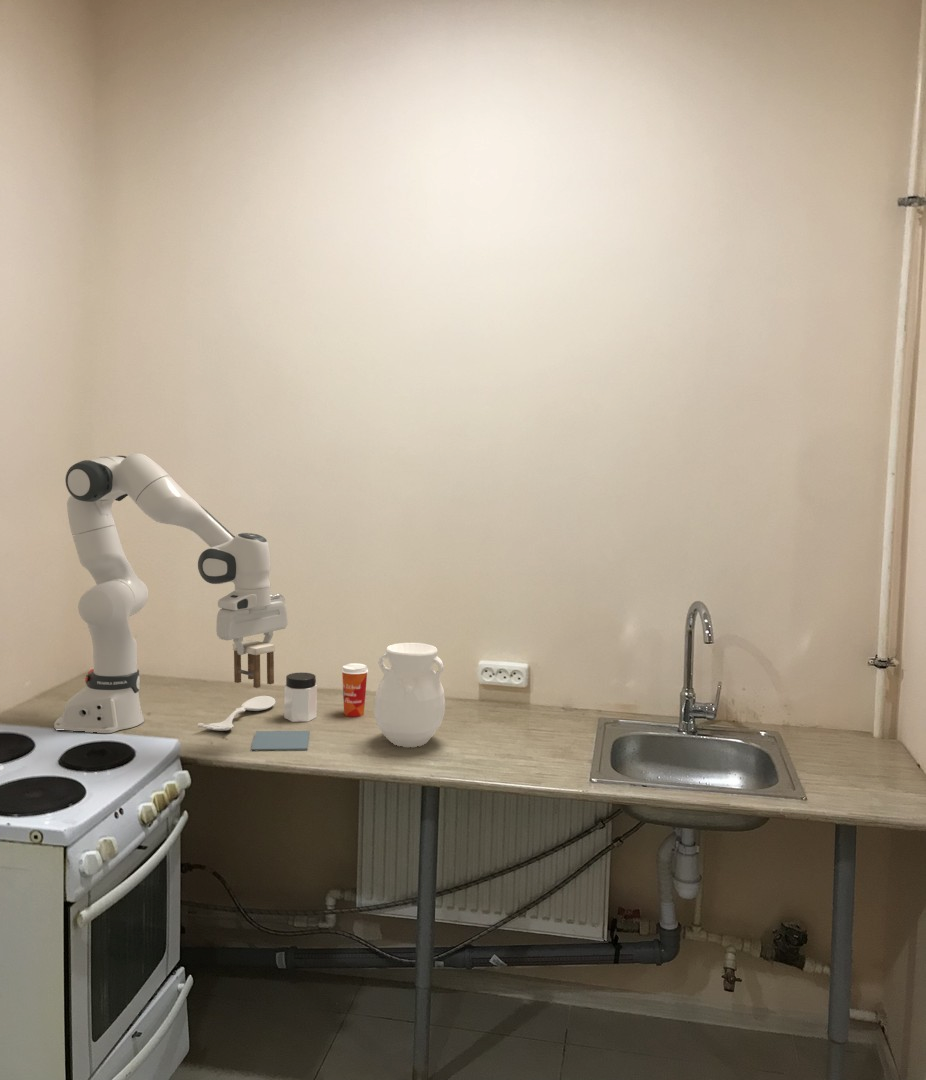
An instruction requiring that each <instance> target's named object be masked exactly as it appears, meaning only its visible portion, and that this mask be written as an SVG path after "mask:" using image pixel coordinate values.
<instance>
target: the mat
mask: <svg viewBox="0 0 926 1080" xmlns="http://www.w3.org/2000/svg"><path fill="white" fill-rule="evenodd" d="M309 741H310V730H258V731H255V735H254V737H253V741H252V744H251V747H250V751H251V750H255V751H254V752H257V751H256V750H278V752H279V751H280V750H283V752H284V751H287V750H289V751H308V750H307V749H309ZM280 752H281V751H280Z"/></svg>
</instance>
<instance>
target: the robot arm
mask: <svg viewBox="0 0 926 1080" xmlns="http://www.w3.org/2000/svg"><path fill="white" fill-rule="evenodd" d="M65 486H66V489H67V491H68V493H69V495H70V496H69V497H68V498H67V500H66V508H67V509H66V511H67V518H68V524H69V528H70V533H71V536H72V539H73V543H74V545H75V549H76V552H77V555H78V556H77V557H78V560H79V562H80V565H81V566H82V568H84V569H86V570H87V572H89V574H90V575H91V577H92V578H93V580H94V583H95V585H93V586H92V587H90V588H89V589H88V590H86V592H84V593H83V595H81V597H80V598H79V600H78V605H77V608H78V610H77V611H78V613H79V615H80V617H81V619H82V620H83V621H84V622H85V623H86V624H87V627H88V628H87V629H88V631H89V635H90V638H91V643H92V656H93V657H92V658H93V660H92V661H93V669H92V668H91V669H90V670H89V671H88V672H87V674H86V675H85V678H84V680H85V681H84V682H85V685H86V686H84V687H83V688H82V689H80V690H78V692H77V693H75V694H74V695H73V696H71V697H70V698H69V699H68V700H67V701H66V703H65V705H64V709H63V713H62V715H61V716H59V717H58V718H57V719H56V720H55V721H54V723H53V729H54V728H55V729H64V730H75V731H85V732H84V733H93V732H97V734H111V733H115V732H118V731H120V730H127V729H130V728H135V727H137V726H140V725H141V724H143V723H144V722H145V717H144V715H143V712H142V708H141V700H140V694H139V691H140V687H141V685H140V684H141V677H140V670H139V669H138V641H137V640H136V638H135V637H134V636H133V633H132V631H131V627H130V623H129V622H130V621H129V620H130V618H129V617H131V616H134V615H135V614H138V613H139V612H140V611H141V610H142V609H143V608H144V606H145V605H146V604H147V602H148V600H149V589H148V587H147V584H146V583H145V582H144V581H143V580H141V579H140V577H138V576H137V574H136V572H135V570H134V569H133V567H132V565H131V563H130V562H129V560H128V558H127V556H126V554H125V551H124V548H123V545H122V542H121V539H120V535H119V532H118V530H117V525H116V522H115V519H114V516H113V512H112V505H113V503H114V502H115V501H118V502H120V501H122V500H124V499H125V498H126V497H129V498H130V499H131V500H132V501H133V502H134V503H135V505H136V506H137V507H138V508H139V509H140V510H141V511H142V512H143V513H144V514H145V516H148V517H149V518H150V519H152V520H153V521H155V522H156V523H160V524H166V525H170V526H171V525H172V526H177V527H180V528H185V529H187V530H189V531H191V532H193V533H194V534H195V535H196V536H198V537H199V538H200V539H201V540H202V541H203V542H204V543H205V544H206V545H207V546H208V548H207V549H204V551H202V552H201V553H200V555H199V556H198V559H197V570H198V572H199V575H200V576H201V578H202V579H203V580H204V581H205V582H207V583H209V584H211V585H212V584H213V585H221V584H226V583H233V584H234V590H233V591H231V592H230V593H228V594H226V595H225V596H223V597H222V598H221V597H220V598H219V599H218V600H217V607H218V608H220V609H219V611H218V613H217V614H216V635H217V637H218V639H219V640H223V641H233V644H234V643H235V645H236V647H237V653H238V654H239V655H241V656H242V655H246V654H247V653H246V647H243V645H242V643H241V642H244V638H246V637H251V636H256V635H261V634H263V635H264V637H263V641H262V642H264V643H268V644H270V642H271V640H272V639H273V636H274V632H275V631H280V630H285V629H286V628H287V626H288V613H287V612H288V611H287V607H286V599H285V597H284V595H282V594H281V593H276V594H272V593H271V592H272V591H271V590H272V589H271V585H272V584H271V582H270V572H271V555H270V554H271V553H270V545H269V542H268V540H267V538H265V537H264V536H263V535H260V534H256V533H251V532H250V533H249V532H241V533H239V534H237V535H234V534H233V533H231V532H230V531H229V530H228V529H227V528H226V527H225V526H224V525H223V524H222V523H221V522H220V521H219V520H217V519H216V518H215V517H214V516H213V514H211V513H210V512H209V510H207V509H206V508H204V507H203V506H202V505H201V504H200V503H198V502H197V501H196V500H195V499H194V498H192V496H191V495H189V494H188V493H187V492H186V491H185V490H184V489H183V488H182V487H181V486H180V485H179V483H177V482H176V481H175V480H174V479H173V477H172V476H171V475H170V474H169V473H168V472H167V471H166V470H164V468H163V467H161V465H159V464H158V463H157V462H155V461H154V460H153V459H151V458H150V457H149V456H148V455H145V454H144V453H140V452H139V453H138V452H137V453H136V452H135V453H132V454H130V455H127V456H126V455H115V456H111V455H109V456H107V455H106V456H100V457H96V458H92V459H86V460H85V459H84V460H81V461H78V462H76V463H75V464H73V465H71V466H70V467H69V468H68V469H67V471H66V475H65ZM55 729H54V730H55Z"/></svg>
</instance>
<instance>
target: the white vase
mask: <svg viewBox="0 0 926 1080" xmlns="http://www.w3.org/2000/svg"><path fill="white" fill-rule="evenodd" d="M385 650H386V652H385V653H384V654H382V655H381V656H380V657H379V658H378V659H379V660H378V666H379V668H380V670H381V672H382V674H383V677H382V678H381V681H380V682H379V683H378V687H377V690H376V692H375V695H374V696H375V697H374V700H373V701H374V702H373V717H374V721H375V723H376V726H377V727H378V728H379V730H380V731H381V733H382V734H383V736H384V737H386V739H387V740H388V741H389V742H390V743H391V744H392V743H393V744H392V745H393V746H396V745H397V746H396V747H400V746H403V747H402V748H410V747H411V748H418V747H417V746H419V747H423V746H425V745H426V744H427V743H429V740H431V738H432V737H433V736H434V735H435V733H437V730H438V729H439V728H440V726H441V725H442V722H443V719H444V716H445V711H446V710H445V709H446V698H445V689H444V687H443V684H442V682H441V678H440V676H441V674H442V673H443V671H444V668H445V666H444V663H443V660H442V659H441V658H440V657H439V656H438V653H439V651H438V648H437V647H436V646H434V645H432V644H427V643H424V642H400V643H398V642H397V643H393V644H390V645H388V646H387V647H386V648H385ZM385 659H387V660H388V662H389V664H390V668H388V667H387V665H385ZM435 664H436V666H438V667H437V668H438V670H437V671H435V669H434V668H433V667H434V665H435ZM424 744H425V745H424ZM422 745H423V746H422Z"/></svg>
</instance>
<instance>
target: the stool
mask: <svg viewBox="0 0 926 1080" xmlns="http://www.w3.org/2000/svg"><path fill="white" fill-rule="evenodd" d="M241 643H242V645H243V647H246V654H247V670H245V669H242V655H239V654H238V653H237V647H236V645H235V643H234V642H233V643H232V651H233V669H234V670H233V673H234V674H233V675H234V676H233V677H234V679H233V680H234V683H237V684H239V683H242V675H246V676H247V678H248V680H252V681H253V683H252V684H253V688H256V689H258V688H261V655H265V654H266V684H268V685H273V684H275V670H274V669H275V661H274V657H275V656H274V655H275V654H274V652H275V651H276V650H275V649H276V647H275V644H272V643H269V644H268V643H264V642H263V641H257V640H254V639H249V640H245V641H244V640H243V641H242V642H241Z"/></svg>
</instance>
